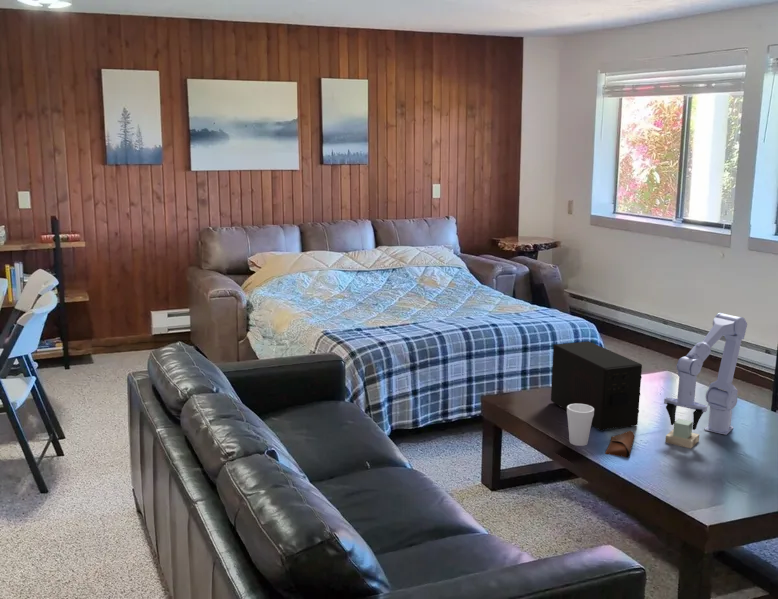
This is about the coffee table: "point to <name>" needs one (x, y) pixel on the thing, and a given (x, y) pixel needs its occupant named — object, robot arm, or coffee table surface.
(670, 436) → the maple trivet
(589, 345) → the black rectangular box
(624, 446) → the sunglasses case
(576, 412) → the foam cup
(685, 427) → the sage cube
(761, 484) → the coffee table surface
